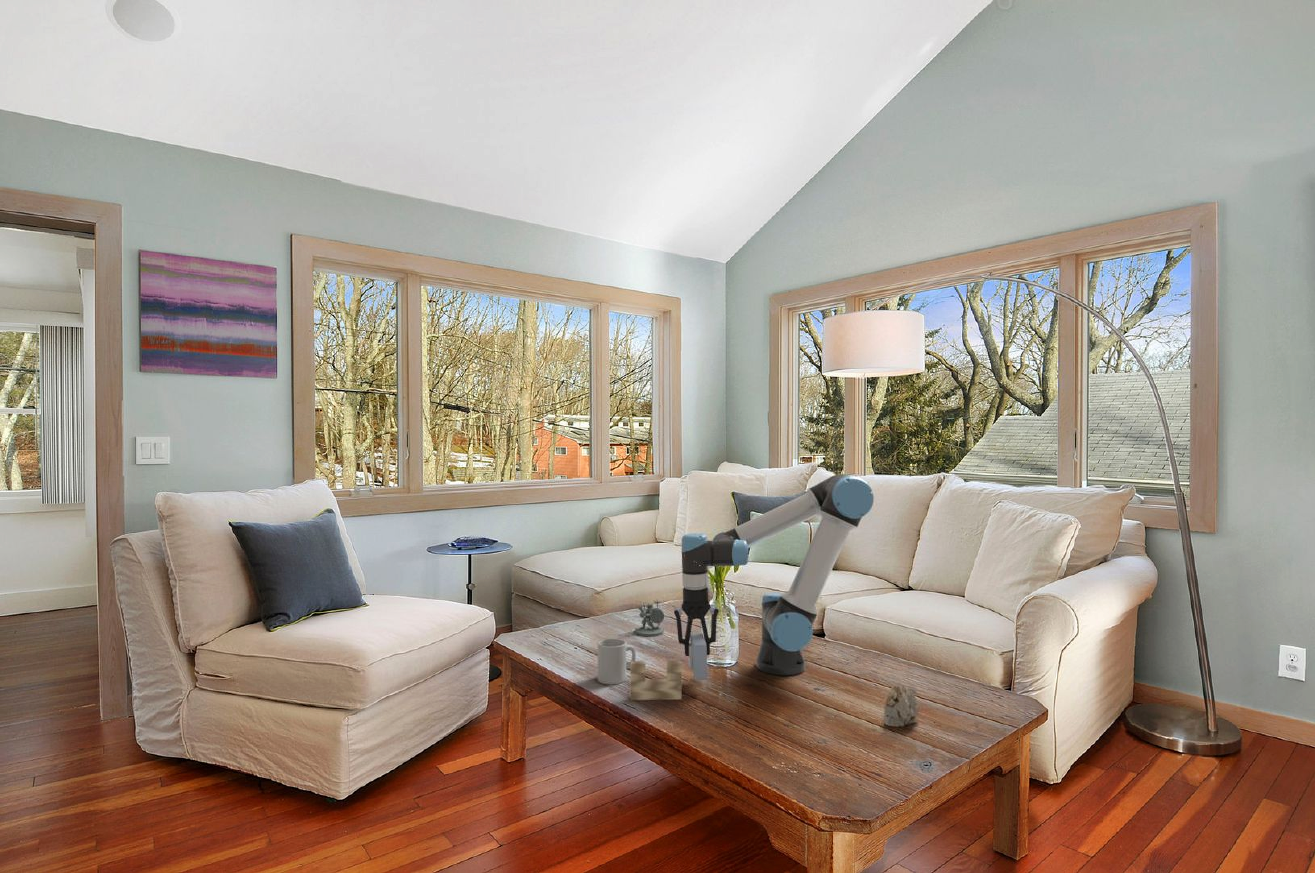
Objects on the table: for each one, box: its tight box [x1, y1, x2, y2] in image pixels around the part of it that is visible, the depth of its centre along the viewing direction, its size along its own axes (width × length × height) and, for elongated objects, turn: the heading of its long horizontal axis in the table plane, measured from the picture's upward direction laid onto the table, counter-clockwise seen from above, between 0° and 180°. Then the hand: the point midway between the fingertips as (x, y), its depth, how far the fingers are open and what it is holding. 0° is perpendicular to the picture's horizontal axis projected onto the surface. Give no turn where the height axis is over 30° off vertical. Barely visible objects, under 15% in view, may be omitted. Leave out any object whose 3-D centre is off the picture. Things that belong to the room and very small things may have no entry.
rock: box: [883, 685, 920, 728], centre depth 176 cm, size 12×7×10 cm, turn 133°
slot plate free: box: [689, 631, 708, 682], centre depth 199 cm, size 12×4×10 cm, turn 2°
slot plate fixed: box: [630, 660, 683, 701], centre depth 190 cm, size 14×2×10 cm, turn 92°
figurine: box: [634, 598, 665, 638], centre depth 254 cm, size 11×11×12 cm
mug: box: [597, 638, 637, 685], centre depth 206 cm, size 12×8×11 cm
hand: (697, 666), depth 203 cm, fingers closed on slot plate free, 3 cm apart
